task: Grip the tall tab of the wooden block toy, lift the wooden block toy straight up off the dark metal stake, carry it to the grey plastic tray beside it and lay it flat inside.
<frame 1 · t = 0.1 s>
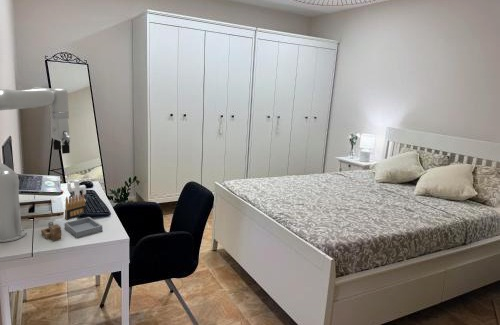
hand: (61, 151, 166), 37 cm above the table, tool pointing down, fingers open, 9 cm apart
wooden block toy: (51, 235, 161), on the table
figurine: (77, 205, 198), on the table
tray: (83, 230, 168), on the table
stake: (51, 235, 161), on the table
ammunition clip: (75, 216, 183), on the table
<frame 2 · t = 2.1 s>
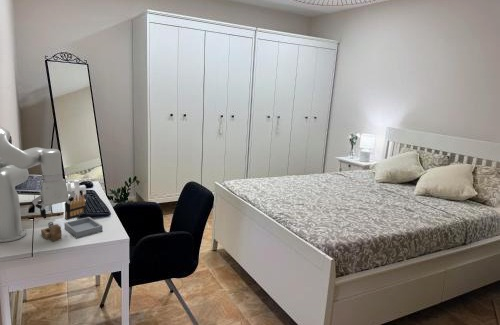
hand: (56, 214, 155), 12 cm above the table, tool pointing down, fingers open, 9 cm apart
nothing on the table moved.
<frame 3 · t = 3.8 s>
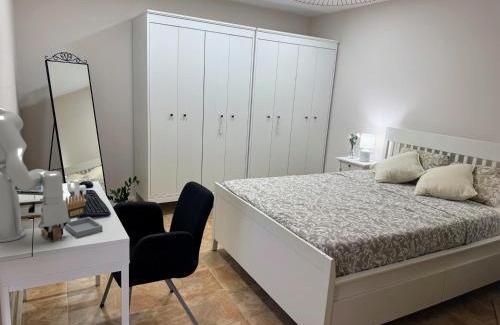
hand: (55, 237, 158), 1 cm above the table, tool pointing down, fingers closed on wooden block toy, 3 cm apart
wooden block toy: (51, 235, 161), on the table, touching gripper
everything else where it was.
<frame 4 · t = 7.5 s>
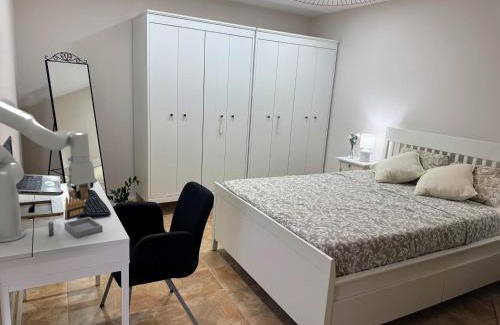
hand: (83, 197, 161), 18 cm above the table, tool pointing down, fingers closed on wooden block toy, 3 cm apart
wooden block toy: (78, 195, 165), point 17 cm above the table, touching gripper
everything else where it was.
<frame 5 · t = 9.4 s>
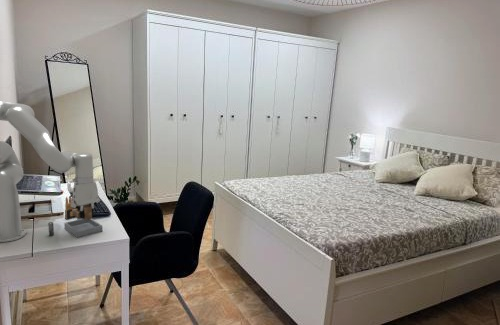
hand: (86, 216, 165), 8 cm above the table, tool pointing down, fingers closed on wooden block toy, 3 cm apart
wooden block toy: (82, 214, 168), point 7 cm above the table, touching gripper
everything else where it was.
when the fingers open (3 cm above the table, at t = 11.1 s): wooden block toy drops 1 cm, resting on tray.
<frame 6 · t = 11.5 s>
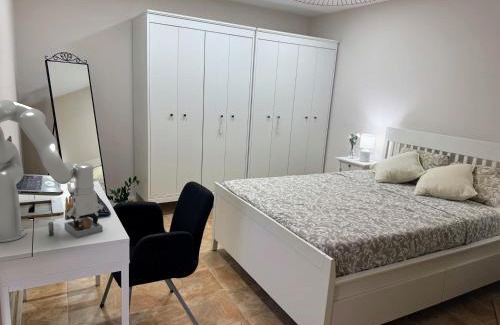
hand: (86, 225, 165), 4 cm above the table, tool pointing down, fingers open, 8 cm apart
wooden block toy: (81, 227, 169), point 1 cm above the table, touching tray
everything else where it was.
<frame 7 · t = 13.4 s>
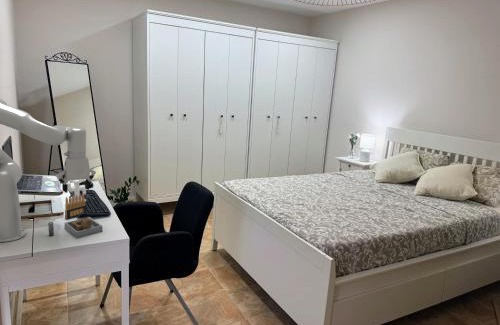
hand: (76, 190, 162), 20 cm above the table, tool pointing down, fingers open, 9 cm apart
nothing on the table moved.
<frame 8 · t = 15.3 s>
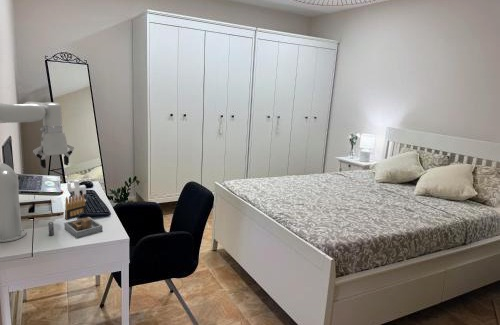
hand: (55, 166, 164), 30 cm above the table, tool pointing down, fingers open, 9 cm apart
nothing on the table moved.
at the end: wooden block toy 0.2 cm from the target spot on the tray, point 0.6 cm above the tray's base; wooden block toy tilted 0°; the gripper is holding nothing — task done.
